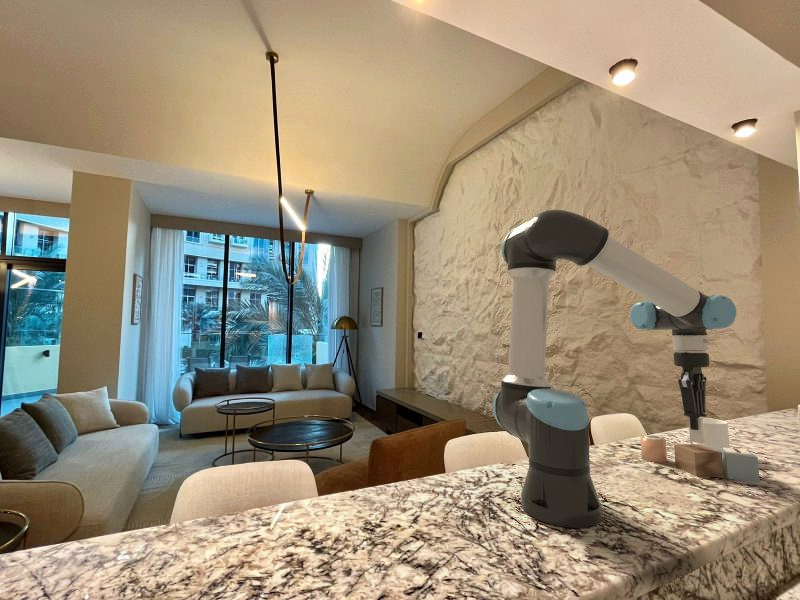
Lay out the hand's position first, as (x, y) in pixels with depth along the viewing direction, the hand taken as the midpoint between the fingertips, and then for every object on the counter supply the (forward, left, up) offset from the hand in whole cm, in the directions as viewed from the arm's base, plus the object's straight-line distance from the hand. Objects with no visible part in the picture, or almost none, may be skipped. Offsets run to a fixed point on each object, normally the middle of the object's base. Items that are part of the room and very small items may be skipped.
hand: (697, 441), depth 99 cm
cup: (+13, +16, -8) cm, 22 cm away
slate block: (+8, -2, -8) cm, 11 cm away
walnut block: (0, 0, -8) cm, 8 cm away
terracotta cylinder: (-7, +8, -8) cm, 13 cm away
